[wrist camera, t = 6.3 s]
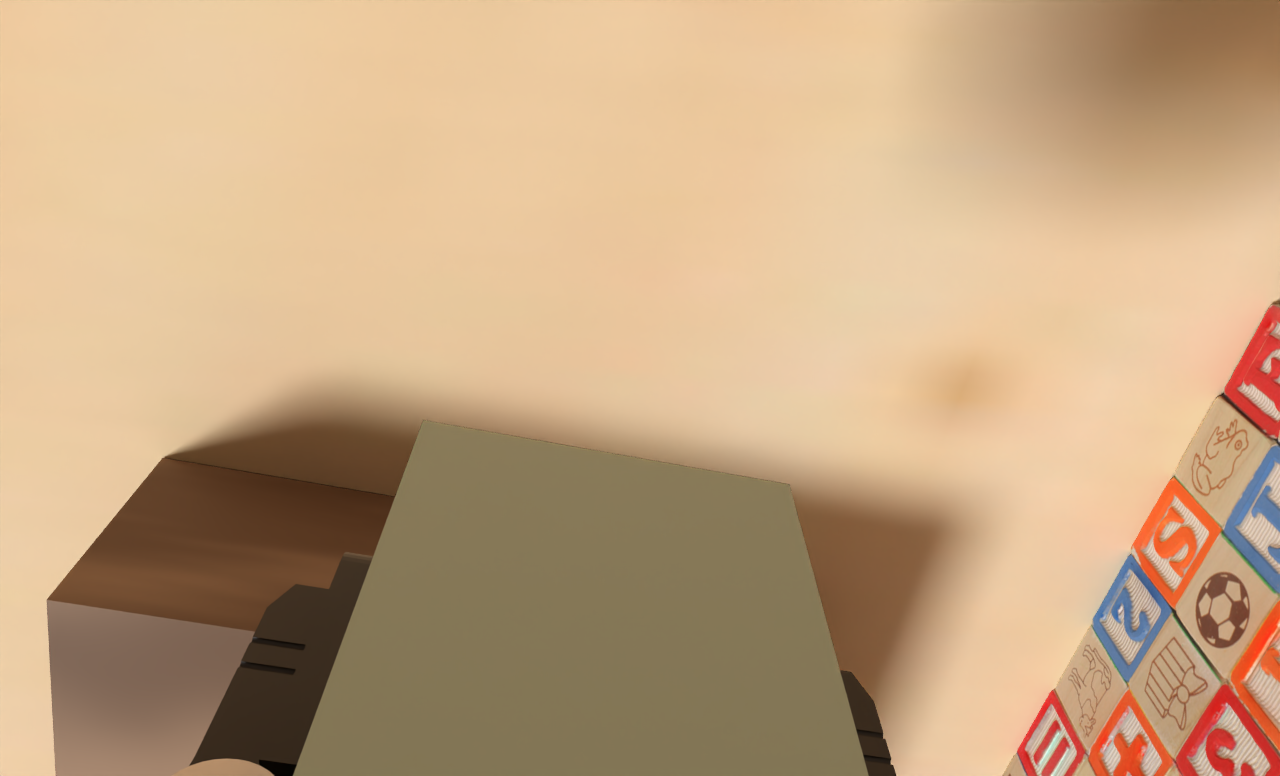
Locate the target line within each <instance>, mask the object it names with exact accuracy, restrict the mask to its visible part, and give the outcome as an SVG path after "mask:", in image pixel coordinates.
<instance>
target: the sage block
mask: <svg viewBox="0 0 1280 776" xmlns="http://www.w3.org/2000/svg"><path fill="white" fill-rule="evenodd" d="M293 776H869V775H868V772H867V768H866V764H865V761H864V757H863V753H862V749H861V746H860V742H859V738H858V735H857V731H856V727H855V724H854V720H853V716H852V713H851V709H850V705H849V702H848V698H847V694H846V691H845V687H844V683H843V680H842V676H841V672H840V669H839V665H838V661H837V658H836V654H835V650H834V647H833V643H832V639H831V636H830V632H829V628H828V624H827V621H826V617H825V613H824V610H823V606H822V602H821V599H820V595H819V591H818V588H817V584H816V580H815V577H814V573H813V569H812V566H811V562H810V558H809V555H808V551H807V547H806V544H805V540H804V536H803V533H802V529H801V525H800V522H799V518H798V514H797V511H796V507H795V503H794V499H793V496H792V492H791V488H790V485H789V484H784V483H778V482H773V481H767V480H761V479H756V478H750V477H744V476H738V475H733V474H727V473H721V472H716V471H710V470H704V469H699V468H693V467H687V466H682V465H676V464H670V463H664V462H659V461H653V460H647V459H642V458H636V457H630V456H625V455H619V454H613V453H608V452H602V451H596V450H591V449H585V448H579V447H573V446H568V445H562V444H556V443H551V442H545V441H539V440H534V439H528V438H522V437H517V436H511V435H505V434H500V433H494V432H488V431H482V430H477V429H471V428H465V427H460V426H454V425H448V424H443V423H437V422H431V421H426V420H423V422H422V425H421V427H420V430H419V433H418V436H417V438H416V441H415V444H414V447H413V449H412V452H411V455H410V458H409V460H408V463H407V466H406V468H405V471H404V474H403V477H402V479H401V482H400V485H399V488H398V490H397V493H396V496H395V498H394V501H393V504H392V507H391V509H390V512H389V515H388V518H387V520H386V523H385V526H384V528H383V531H382V534H381V537H380V539H379V542H378V545H377V548H376V550H375V553H374V556H373V559H372V561H371V564H370V567H369V569H368V572H367V575H366V578H365V580H364V583H363V586H362V589H361V591H360V594H359V597H358V599H357V602H356V605H355V608H354V610H353V613H352V616H351V619H350V621H349V624H348V627H347V629H346V632H345V635H344V638H343V640H342V643H341V646H340V649H339V651H338V654H337V657H336V660H335V662H334V665H333V668H332V670H331V673H330V676H329V679H328V681H327V684H326V687H325V690H324V692H323V695H322V698H321V700H320V703H319V706H318V709H317V711H316V714H315V717H314V720H313V722H312V725H311V728H310V730H309V733H308V736H307V739H306V741H305V744H304V747H303V750H302V752H301V755H300V758H299V760H298V763H297V766H296V769H295V771H294V774H293Z"/></svg>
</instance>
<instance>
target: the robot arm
mask: <svg viewBox="0 0 1280 776" xmlns="http://www.w3.org/2000/svg"><path fill="white" fill-rule="evenodd" d="M372 559H373V556H368V555H361V554H355V553H349V552H345V553H344V554H343V556H342V558H341V561H340V563H339V566H338V568H337V570H336V573H335V575H334V578H333V580H332V583H331V585H330V588H329V589H325V588H319V587H313V586H306V585H300V584H295V585H294V586H293V587H291V588H290V589H289V590H288V591H286V592H285V593H284V594H283V595H281V596H280V597H279V598H278V599H276V600H275V601H274V602H273V603H271V604H270V605H269V606H268V607H267V608H266V610H265V612H264V614H263V616H262V619H261V621H260V623H259V625H258V627H257V629H256V631H255V633H254V635H253V638H252V642H251V643H249V645H248V647H247V649H246V652H245V654H244V656H243V658H242V660H241V664H240V667H238V668H237V670H236V672H235V674H234V676H233V678H232V680H231V682H230V685H229V687H228V689H227V691H226V693H225V695H224V697H223V699H222V701H221V703H220V705H219V707H218V709H217V711H216V713H215V716H214V718H213V720H212V722H211V724H210V726H209V728H208V730H207V732H206V734H205V736H204V738H203V740H202V742H201V744H200V746H199V749H198V751H197V753H196V755H195V757H194V758H193V760H192V762H191V763H190V765H189V766H188V767H186V768H184V769H182V770H180V771H178V772H177V773H175V774H173V775H172V776H293V774H294V771H295V769H296V766H297V763H298V760H299V758H300V755H301V752H302V750H303V747H304V744H305V741H306V739H307V736H308V733H309V730H310V728H311V725H312V722H313V720H314V717H315V714H316V711H317V709H318V706H319V703H320V700H321V698H322V695H323V692H324V690H325V687H326V684H327V681H328V679H329V676H330V673H331V670H332V668H333V665H334V662H335V660H336V657H337V654H338V651H339V649H340V646H341V643H342V640H343V638H344V635H345V632H346V629H347V627H348V624H349V621H350V619H351V616H352V613H353V610H354V608H355V605H356V602H357V599H358V597H359V594H360V591H361V589H362V586H363V583H364V580H365V578H366V575H367V572H368V569H369V567H370V564H371V561H372ZM840 672H841V676H842V680H843V683H844V687H845V691H846V694H847V698H848V702H849V705H850V709H851V713H852V716H853V720H854V724H855V727H856V731H857V735H858V738H859V742H860V746H861V749H862V753H863V757H864V761H865V764H866V768H867V772H868V775H869V776H896V773H895V770H894V767H893V765H891V763H890V761H891V757H890V753H889V750H888V747H887V743H886V740H885V739H883V730H882V727H881V724H880V720H879V717H878V714H877V710H876V707H875V704H874V701H873V700H872V699H871V697H870V696H869V695H868V694H867V692H866V691H865V690H864V688H863V687H862V686H861V684H860V683H859V682H858V680H857V679H856V678H855V677H854V675H853V674H852V673H851V672H847V671H840Z"/></svg>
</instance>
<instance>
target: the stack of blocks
mask: <svg viewBox="0 0 1280 776" xmlns="http://www.w3.org/2000/svg"><path fill="white" fill-rule="evenodd" d="M1003 776H1280V305H1279V304H1272V305H1271V306H1270V307H1269V309H1268V310H1267V312H1266V314H1265V316H1264V318H1263V320H1262V322H1261V323H1260V325H1259V327H1258V329H1257V331H1256V332H1255V334H1254V336H1253V338H1252V340H1251V342H1250V344H1249V345H1248V347H1247V349H1246V351H1245V353H1244V355H1243V356H1242V358H1241V360H1240V362H1239V364H1238V365H1237V367H1236V369H1235V370H1234V372H1233V375H1232V377H1231V379H1230V380H1229V382H1228V383H1227V385H1226V386H1225V391H1224V394H1223V395H1221V396H1218V397H1217V398H1216V399H1215V401H1214V402H1213V404H1212V406H1211V408H1210V409H1209V411H1208V413H1207V415H1206V416H1205V418H1204V420H1203V422H1202V423H1201V425H1200V427H1199V429H1198V430H1197V432H1196V434H1195V436H1194V437H1193V439H1192V441H1191V443H1190V445H1189V446H1188V448H1187V450H1186V452H1185V454H1184V455H1183V457H1182V459H1181V461H1180V463H1179V465H1178V467H1177V469H1176V473H1175V476H1174V477H1173V478H1172V479H1171V480H1170V481H1169V483H1168V484H1167V486H1166V488H1165V489H1164V491H1163V492H1162V494H1161V496H1160V498H1159V500H1158V501H1157V503H1156V505H1155V507H1154V508H1153V510H1152V512H1151V513H1150V515H1149V517H1148V519H1147V520H1146V522H1145V524H1144V525H1143V527H1142V529H1141V531H1140V533H1139V535H1138V536H1137V538H1136V540H1135V542H1134V543H1133V545H1132V547H1131V555H1130V556H1129V557H1128V558H1127V559H1126V561H1125V563H1124V565H1123V566H1122V568H1121V570H1120V572H1119V574H1118V576H1117V578H1116V579H1115V581H1114V583H1113V584H1112V586H1111V588H1110V590H1109V592H1108V594H1107V596H1106V597H1105V599H1104V600H1103V602H1102V604H1101V606H1100V608H1099V610H1098V611H1097V613H1096V614H1095V616H1094V618H1093V622H1092V625H1091V626H1090V627H1089V629H1088V630H1087V632H1086V633H1085V635H1084V637H1083V639H1082V641H1081V642H1080V644H1079V646H1078V648H1077V650H1076V652H1075V653H1074V655H1073V657H1072V658H1071V660H1070V662H1069V664H1068V666H1067V668H1066V669H1065V671H1064V673H1063V674H1062V676H1061V678H1060V680H1059V682H1058V684H1057V686H1056V688H1055V689H1054V690H1052V691H1051V692H1050V694H1049V696H1048V698H1047V699H1046V701H1045V703H1044V704H1043V706H1042V708H1041V710H1040V711H1039V713H1038V715H1037V717H1036V719H1035V720H1034V722H1033V724H1032V726H1031V727H1030V729H1029V731H1028V733H1027V734H1026V736H1025V738H1024V740H1023V742H1022V743H1021V745H1020V747H1019V749H1018V751H1017V753H1016V754H1015V755H1014V756H1013V758H1012V760H1011V762H1010V763H1009V765H1008V767H1007V769H1006V770H1005V772H1004V774H1003Z"/></svg>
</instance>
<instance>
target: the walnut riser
mask: <svg viewBox="0 0 1280 776" xmlns="http://www.w3.org/2000/svg"><path fill="white" fill-rule="evenodd" d="M394 498H395V497H392V496H386V495H380V494H374V493H368V492H362V491H356V490H350V489H344V488H338V487H333V486H327V485H321V484H315V483H309V482H303V481H297V480H291V479H285V478H279V477H273V476H267V475H261V474H255V473H249V472H243V471H238V470H232V469H226V468H220V467H214V466H208V465H202V464H196V463H190V462H184V461H178V460H172V459H166V458H162V460H161V461H160V462H159V463H158V464H157V466H156V467H155V468H154V469H153V471H152V472H151V473H150V474H149V475H148V477H147V478H146V479H145V480H144V482H143V483H142V484H141V485H140V486H139V488H138V489H137V490H136V491H135V493H134V494H133V495H132V496H131V497H130V499H129V500H128V501H127V502H126V504H125V505H124V506H123V507H122V508H121V510H120V511H119V512H118V513H117V515H116V516H115V517H114V518H113V519H112V521H111V522H110V523H109V524H108V526H107V527H106V528H105V529H104V530H103V532H102V533H101V534H100V535H99V537H98V538H97V539H96V540H95V541H94V543H93V544H92V545H91V546H90V548H89V549H88V550H87V551H86V552H85V554H84V555H83V556H82V557H81V559H80V560H79V561H78V562H77V563H76V565H75V566H74V567H73V568H72V570H71V571H70V572H69V573H68V574H67V576H66V577H65V578H64V579H63V581H62V582H61V583H60V584H59V585H58V587H57V588H56V589H55V590H54V592H53V593H52V594H51V595H50V596H49V598H48V599H47V615H48V635H49V654H50V673H51V693H52V712H53V731H54V751H55V770H56V776H172V775H173V774H175V773H177V772H178V771H180V770H182V769H184V768H186V767H188V766H189V765H190V763H191V762H192V760H193V758H194V757H195V755H196V753H197V751H198V749H199V746H200V744H201V742H202V740H203V738H204V736H205V734H206V732H207V730H208V728H209V726H210V724H211V722H212V720H213V718H214V716H215V713H216V711H217V709H218V707H219V705H220V703H221V701H222V699H223V697H224V695H225V693H226V691H227V689H228V687H229V685H230V682H231V680H232V678H233V676H234V674H235V672H236V670H237V668H238V667H240V664H241V660H242V658H243V656H244V654H245V652H246V649H247V647H248V645H249V643H251V642H252V638H253V635H254V633H255V631H256V629H257V627H258V625H259V623H260V621H261V619H262V616H263V614H264V612H265V610H266V608H267V607H268V606H269V605H270V604H271V603H273V602H274V601H275V600H276V599H278V598H279V597H280V596H281V595H283V594H284V593H285V592H286V591H288V590H289V589H290V588H291V587H293V586H294V585H295V584H300V585H306V586H313V587H319V588H325V589H329V588H330V585H331V583H332V580H333V578H334V575H335V573H336V570H337V568H338V566H339V563H340V561H341V558H342V556H343V554H344V553H345V552H349V553H355V554H361V555H368V556H374V553H375V550H376V548H377V545H378V542H379V539H380V537H381V534H382V531H383V528H384V526H385V523H386V520H387V518H388V515H389V512H390V509H391V507H392V504H393V501H394Z"/></svg>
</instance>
